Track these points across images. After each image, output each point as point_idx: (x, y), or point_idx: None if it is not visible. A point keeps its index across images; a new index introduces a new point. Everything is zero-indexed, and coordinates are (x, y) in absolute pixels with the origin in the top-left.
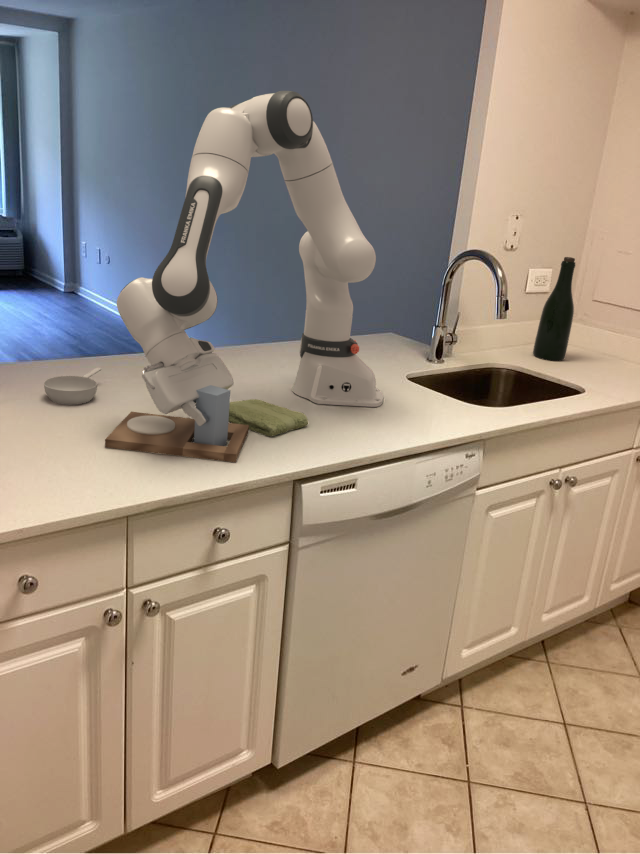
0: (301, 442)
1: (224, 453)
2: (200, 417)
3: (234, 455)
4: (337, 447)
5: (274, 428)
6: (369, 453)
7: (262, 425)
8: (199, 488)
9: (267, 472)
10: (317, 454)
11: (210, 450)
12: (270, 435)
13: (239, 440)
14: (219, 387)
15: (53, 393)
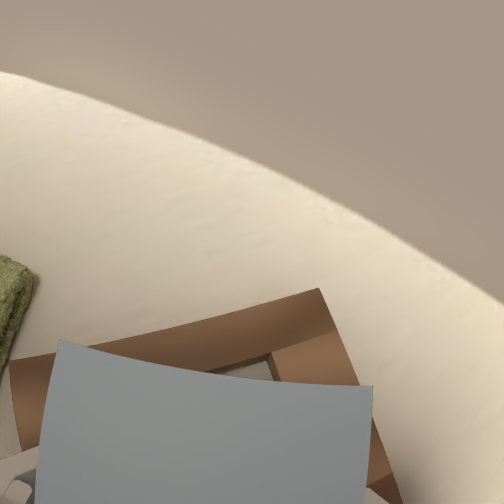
0: (51, 202)
1: (335, 328)
2: None
3: (320, 295)
4: (64, 137)
5: (16, 265)
6: (84, 96)
7: (3, 309)
8: (485, 296)
9: (310, 202)
10: (120, 149)
11: (349, 383)
12: (31, 286)
13: (176, 337)
14: (37, 492)
15: None
